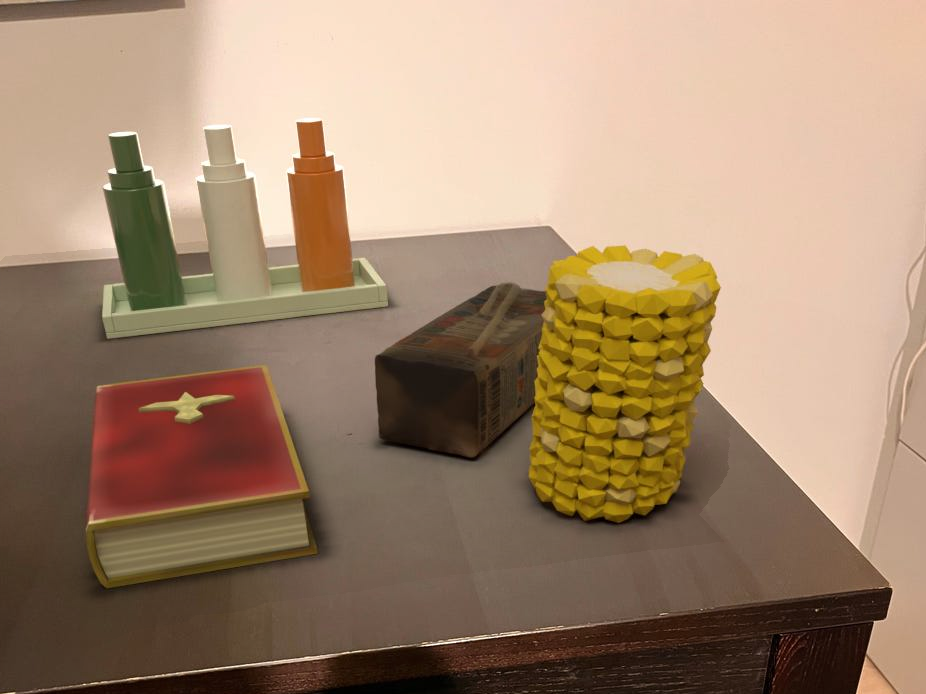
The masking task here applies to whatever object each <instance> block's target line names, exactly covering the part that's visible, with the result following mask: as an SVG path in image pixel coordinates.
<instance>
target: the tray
mask: <svg viewBox="0 0 926 694" xmlns="http://www.w3.org/2000/svg"><path fill="white" fill-rule="evenodd" d="M352 260H353V270H354V280H355V286H354V287H345V288H336V289H327V290H318V291H309V292H302V291H301V283H300V275H299V268H298V264H291V265H281V266H271V267H268V268H269V275H270V282H271V289H272V296H264V297H255V298H246V299H237V300H228V301H219V302H218V301H217V296H216V290H215V285H214V279H213V273H204V274H198V275H197V274H195V275H186V276H182V279H183V284H184V290H185V295H186V300H187V305H183V306H174V307H165V308H156V309H147V310H138V311H130V306H129V302H128V298H127V293H126V289H125V284H124V282H120V283H112V284H111V283H110V284H104V285H103V292H102V293H103V294H102V310H101V319H102V324H103V327H104V331H105V336H106V339H107V340H113V339H118V338H119V339H120V338H129V337H137V336H145V335H154V334H155V335H156V334H163V333H171V332H172V333H173V332H180V331H188V330H197V329H205V328H206V329H207V328H214V327H215V328H216V327H222V326H233V325H240V324H248V323H250V324H251V323H258V322H265V321H274V320H275V321H276V320H285V319H291V318H300V317H301V318H302V317H308V316H317V315H326V314H334V313H336V314H337V313H342V312H343V313H345V312H353V311H361V310H369V309H370V310H371V309H379V308H387V307H389V301H388V288H387V287H388V286H387V284H386V283H385V282H384V280H383V279H382V278H381V276H380V275H379V274H378V272H377V271H376V270H375V269H374V267H373V266H372V264H370V262H369V261H368V259H366V258H365V257H358V258H352Z"/></svg>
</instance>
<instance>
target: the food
mask: <svg viewBox="0 0 926 694" xmlns="http://www.w3.org/2000/svg"><path fill="white" fill-rule="evenodd" d="M717 279H718V275H717V273H716V271H715V269H714V267H713V265H712V263H711V261H707V260H704V257H703V256H700V255H698V254H696V253H691V254H688V255H684V256H683V254H682V253H677V252H671V251H667V250H664V251H663V252H662V253H661V254H660V255H659V256H658V252H656V251H653V250H651V249H648V248H642V249H641V248H640V249H636V250H632V251H630V250H629V249H628V247H627V245H613V246H612V245H610V246H606V247H604V250H603V251H602V252H601V251H600V250H599V249H598V248H597V247H595V246H594V245H592V246H589V247H587V248H584V249H581V250H579V251H577V255H569V256H568V257H566V258H565V259H561V260H560V259H558V260H555V261H552V265H551V266H550V267H549V272H548V280H547V285H546V286H545V287H544V291H546V296H547V300H546V301H544V304H545V311H544V312H543V314H542V317H543V319H544V323H543V327H542V337H541V341H540V344H539V347H538V348H539V350H540V352H539V355H538V356H537V361H538V368H537V373H538V377H537V379H536V380H535V381H534V382H535V394H536V396H535V397H534V400H535V403H534V405H535V406H534V407H533V408H534V409H533V411H532V414H531V424H532V425H531V427H532V440H531V442H530V446H529V448H528V451H529V452H530V453H529V456H528V457H529V460H530V465H529V467H528V478H529V480H530V483H531V484H532V486H533V488H535V492H536V495H537V496H538V498H539V499H540V500H541V503H542V502H551V503H552V504H553V506H554V507H555V509H556V511H557V512H560V513H561V514H565V515H568V516H571V517H572V516H574V514H575V513H576V512H577V513H578V515H579V516H580V517H581V519H582V520H583V521H584V522H585V521H586V522H587V521H590V520H595V519H599V518H603V517H604V519H605V520H607V521H611V522H614V523H617V524H620V523H622V522H624V521H626V520H629V518H631V516H632V515H634V514H638V515H641V516H646V515H648V514H649V513H650V512H651V511H652V510H653V509H654V508H655V505H656V506H657V505H665V504H667V503H668V501H670V498H671V496H672V495H674V494H675V493H678V489H679V487H680V485H681V480H680V479H681V478H682V477H683V473H682V471H683V468H684V465H685V463H686V460H687V458H686V456H685V454H684V453H685V450H686V449H687V448H688V447H689V446H690V445H691V443H692V442H691V441H692V440H691V431H692V430H693V429H694V427H695V425H694V422H693V421H694V419H695V418H696V417H697V416H698V414H699V412H698V409H697V406H696V403H695V399H696V398H697V396H698V395H699V394H700V393H701V390H703V389H702V388H703V387H704V381H703V380H702V377H704V376H705V373H704V366H703V365H704V363H705V361H706V360H707V358H708V357H709V355H710V354H711V352H712V350H711V346H710V345H709V339H710V336H711V333H712V331H713V326H712V323H711V322H712V321H713V319H714V318H715V317H716V312H717V305H716V304H715V303H716V302H717V298H718V296H719V293H720V291H721V289H722V286H721V284H720V283H719V282H718V280H717Z"/></svg>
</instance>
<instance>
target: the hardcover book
mask: <svg viewBox="0 0 926 694" xmlns="http://www.w3.org/2000/svg"><path fill="white" fill-rule="evenodd" d="M268 367H269V366H268V365H267V364H261V365H253V366H252V365H251V366H246V367H244V366H243V367H236V368H228V369H221V370H213V371H212V370H211V371H204V372H195V373H189V374H180V375H172V376H164V377H155V378H149V379H147V378H146V379H140V380H139V379H138V380H132V381H125V382H124V381H123V382H115V383H107V384H99V385H97V386H96V389H95V390H94V391H95V393H94V408H93V423H92V434H91V435H92V437H91V452H90V464H89V465H90V466H89V481H88V495H87V496H88V497H87V507H86V509H87V510H86V522H85V523H86V524H85V540H86V548H87V553H88V558H89V561H90V563H91V566H92V570H93V572H94V574H95V576H96V577H97V579H98V581H99V583H100V584H101V585H102V586H103V587H104V588H106V589H112V588H118V587H125V586H129V585H130V586H131V585H135V584H142V583H146V582H154V581H159V580H166V579H171V578H178V577H184V576H191V575H196V574H202V573H209V572H213V571H220V570H226V569H233V568H239V567H245V566H250V565H251V566H252V565H257V564H262V563H268V562H269V563H270V562H274V561H280V560H286V559H292V558H293V559H294V558H298V557H300V558H301V557H306V556H310V555H318V554H319V553H318V547H317V543H316V539H315V538H314V537H315V536H314V534H313V531H312V530H313V529H312V527H311V525H310V522H309V517H308V514H307V511H306V509H305V504H304V501H303V499H308V498H311V494H310V490H309V487H308V483H307V481H306V478H305V475H304V472H303V469H302V466H301V463H300V460H299V457H298V454H297V451H296V448H295V445H294V442H293V439H292V435H291V433H290V430H289V427H288V424H287V422H286V418H285V415H284V412H283V409H282V406H281V403H280V400H279V397H278V395H277V392H276V389H275V385H274V381H273V379H272V377H271V373H270V371H269V368H268Z"/></svg>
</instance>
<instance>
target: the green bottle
mask: <svg viewBox="0 0 926 694" xmlns="http://www.w3.org/2000/svg"><path fill="white" fill-rule="evenodd" d="M107 137H108V142H109V147H110V150H111V156H112V159H113V165H114V168H111V169H108V170H107V177H108V180H109V181H108V182H109V183H106V184H104V185H102V192H103V196H104V200H105V204H106V209H107V213H108V218H109V223H110V226H111V231H112V236H113V240H114V245H115V248H116V253H117V257H118V262H119V266H120V272H121V276H122V279H123V283H124V284H125V289H126V293H127V298H128V302H129V306H130V311H138V310H147V309H156V308H165V307H174V306H183V305H187V300H186V295H185V290H184V284H183V279H182V277H183V275H182V269H181V264H180V259H179V253H178V250H177V244H176V238H175V234H174V229H173V223H172V217H171V213H170V208H169V204H168V203H169V202H168V197H167V192H166V187H165V183H164V181H163V180H161V179H156V178H155V173H154V168H153V167H152V166H149V165H144V161H143V155H142V151H141V145H140V140H139V135H138V133H137V132H136V131H121V132H120V131H119V132H113V133H110V134H108V136H107Z"/></svg>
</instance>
